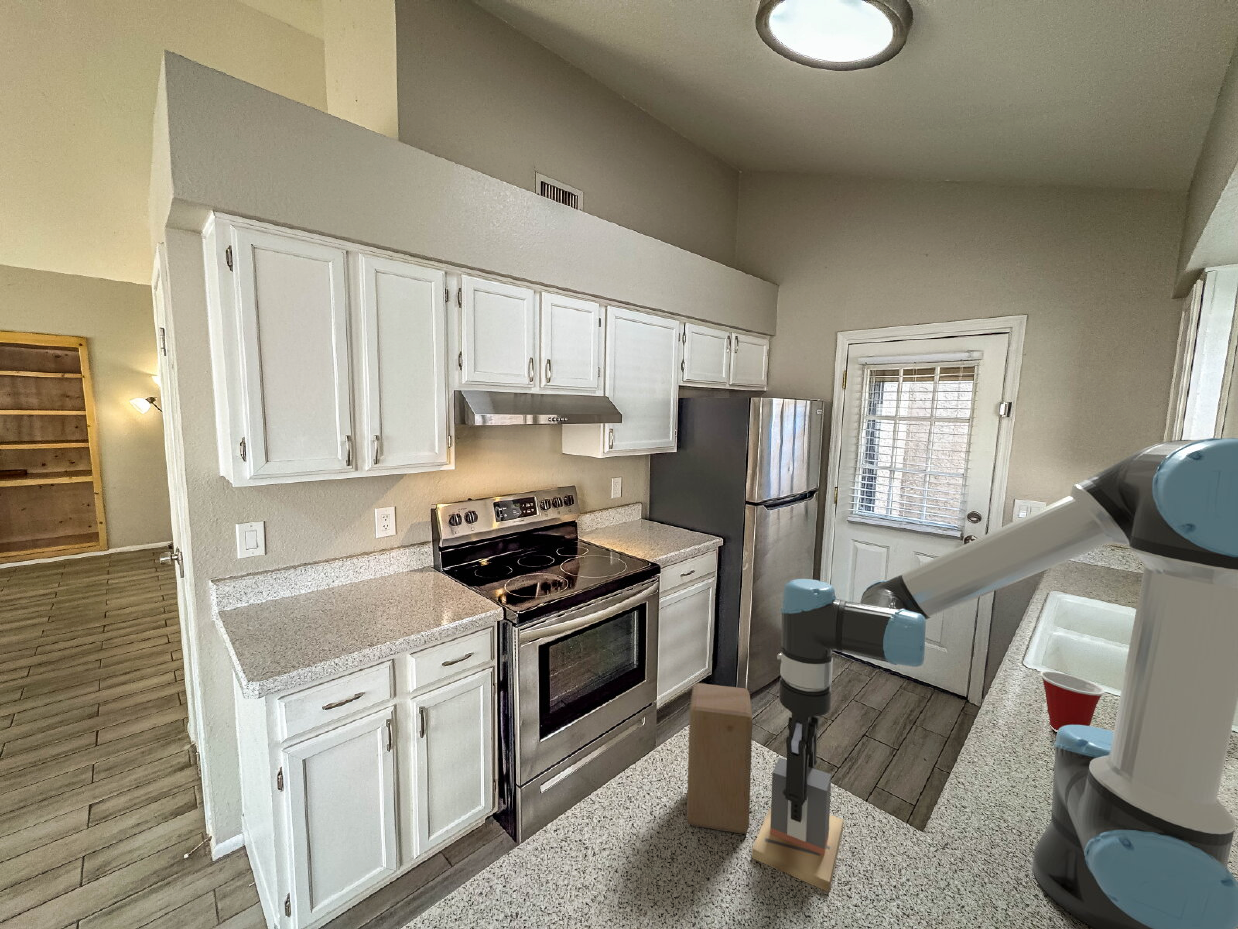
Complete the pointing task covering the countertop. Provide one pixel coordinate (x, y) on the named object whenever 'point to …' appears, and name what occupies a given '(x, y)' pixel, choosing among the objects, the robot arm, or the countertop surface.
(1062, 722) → the plastic cup
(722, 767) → the wooden block
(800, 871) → the board
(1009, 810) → the countertop surface
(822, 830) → the block
